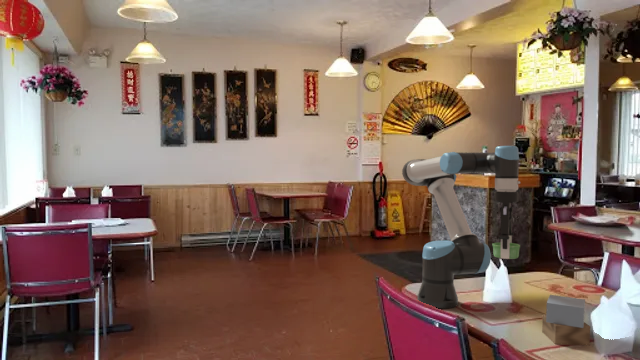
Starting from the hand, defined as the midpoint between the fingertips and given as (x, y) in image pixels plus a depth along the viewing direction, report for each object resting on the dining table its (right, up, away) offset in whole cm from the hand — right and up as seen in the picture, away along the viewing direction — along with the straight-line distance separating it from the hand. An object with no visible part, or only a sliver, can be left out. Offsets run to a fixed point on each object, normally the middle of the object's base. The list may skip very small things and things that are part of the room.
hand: (506, 256), depth 167 cm
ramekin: (0, -1, 0) cm, 1 cm away
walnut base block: (+12, -23, -17) cm, 31 cm away
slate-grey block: (+12, -17, -17) cm, 27 cm away
